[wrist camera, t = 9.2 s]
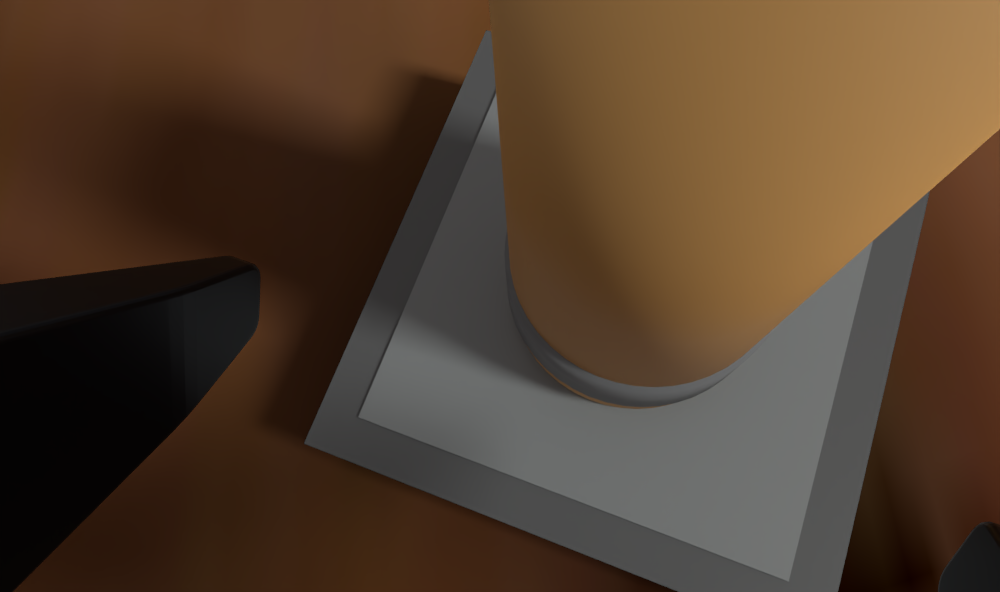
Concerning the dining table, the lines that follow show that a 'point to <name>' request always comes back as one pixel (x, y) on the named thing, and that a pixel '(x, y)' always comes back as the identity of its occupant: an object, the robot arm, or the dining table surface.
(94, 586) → the dining table surface
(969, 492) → the dining table surface
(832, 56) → the housing
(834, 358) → the stand
